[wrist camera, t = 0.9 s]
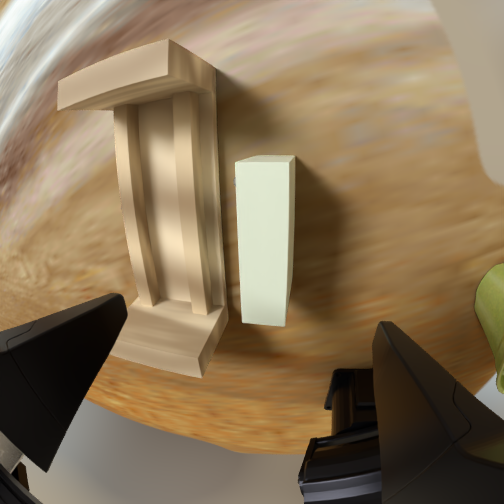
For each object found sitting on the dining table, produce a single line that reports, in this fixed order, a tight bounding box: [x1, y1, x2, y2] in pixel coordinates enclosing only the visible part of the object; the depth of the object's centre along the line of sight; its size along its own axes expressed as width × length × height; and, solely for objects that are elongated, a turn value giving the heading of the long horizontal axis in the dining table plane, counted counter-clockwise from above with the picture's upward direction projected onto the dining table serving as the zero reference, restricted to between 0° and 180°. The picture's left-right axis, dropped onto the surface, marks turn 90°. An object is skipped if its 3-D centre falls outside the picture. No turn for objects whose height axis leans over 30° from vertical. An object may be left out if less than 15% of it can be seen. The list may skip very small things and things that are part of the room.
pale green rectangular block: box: [234, 155, 295, 327], centre depth 17 cm, size 9×3×6 cm, turn 2°
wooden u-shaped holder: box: [58, 39, 229, 378], centre depth 17 cm, size 20×8×7 cm, turn 2°
